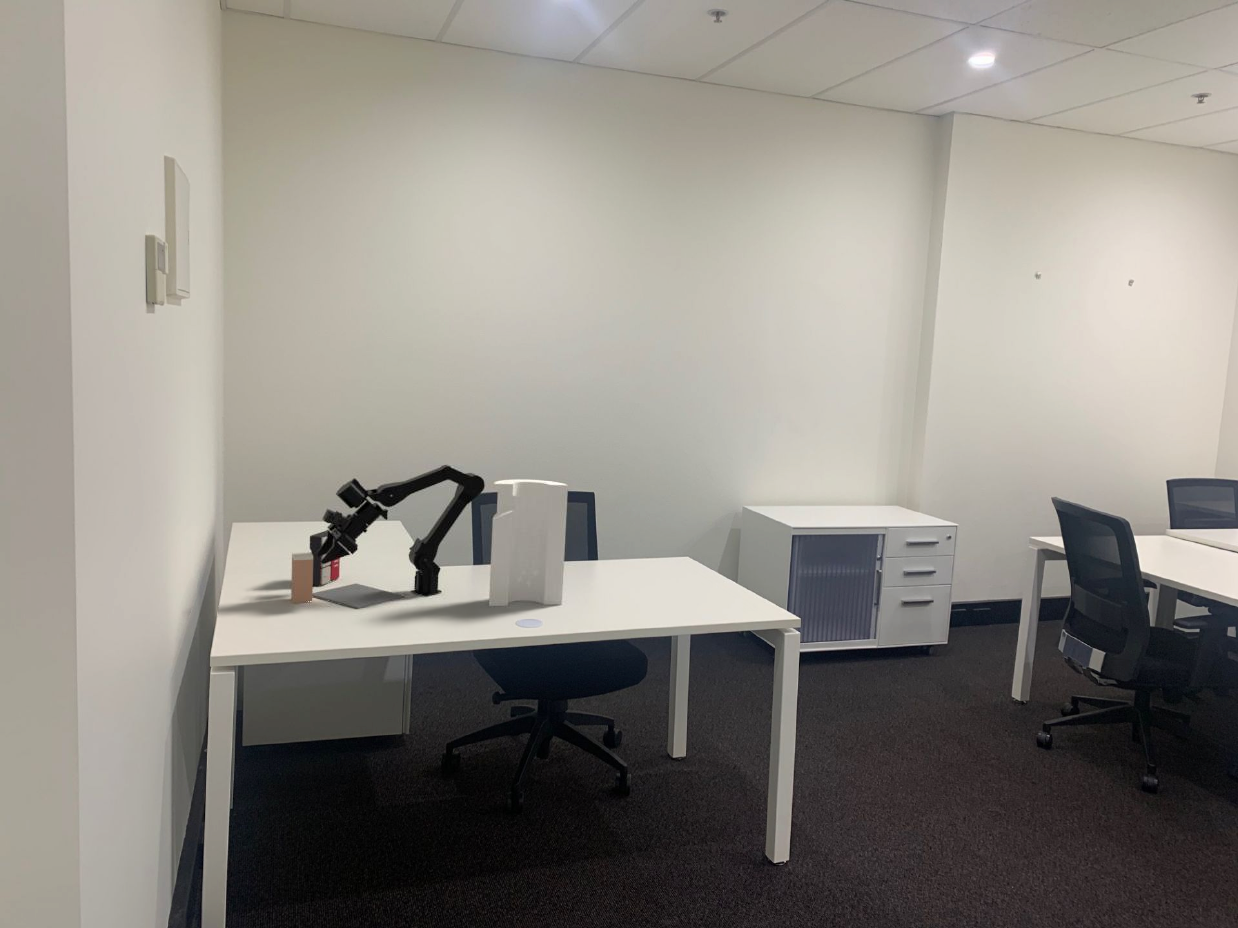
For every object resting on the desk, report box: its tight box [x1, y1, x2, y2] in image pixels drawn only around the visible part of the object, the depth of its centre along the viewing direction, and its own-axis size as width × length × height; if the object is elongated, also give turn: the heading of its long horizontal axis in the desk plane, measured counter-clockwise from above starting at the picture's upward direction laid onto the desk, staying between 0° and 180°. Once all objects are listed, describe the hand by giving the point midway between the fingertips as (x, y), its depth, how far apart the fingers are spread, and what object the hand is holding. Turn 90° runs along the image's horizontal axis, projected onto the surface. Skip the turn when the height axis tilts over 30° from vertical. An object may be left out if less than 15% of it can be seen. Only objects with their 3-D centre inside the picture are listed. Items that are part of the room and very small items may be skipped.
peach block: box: [290, 551, 314, 604], centre depth 244 cm, size 5×5×13 cm
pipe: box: [488, 478, 569, 607], centre depth 256 cm, size 35×11×21 cm
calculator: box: [309, 529, 341, 587], centre depth 265 cm, size 11×4×15 cm, turn 168°
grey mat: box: [312, 583, 405, 610], centre depth 252 cm, size 20×17×1 cm
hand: (319, 559), depth 245 cm, fingers open, 9 cm apart
